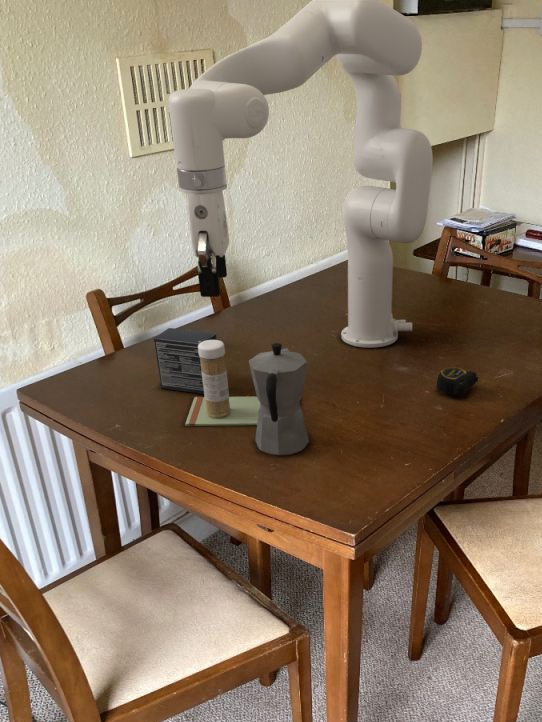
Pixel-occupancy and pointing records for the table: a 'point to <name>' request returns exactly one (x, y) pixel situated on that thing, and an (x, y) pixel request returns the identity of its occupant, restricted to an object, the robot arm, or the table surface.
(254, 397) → the notebook
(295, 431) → the coffeepot
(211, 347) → the sprinkles bottle
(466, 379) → the tape measure
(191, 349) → the small box
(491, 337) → the table surface
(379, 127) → the robot arm
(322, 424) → the table surface
